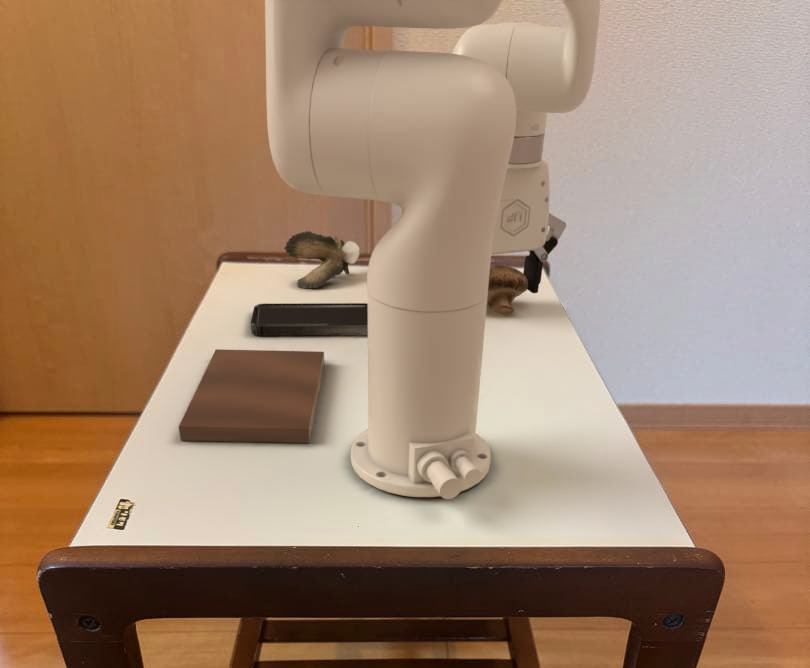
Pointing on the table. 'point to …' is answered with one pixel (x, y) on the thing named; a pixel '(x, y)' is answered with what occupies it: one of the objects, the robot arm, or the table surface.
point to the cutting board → (255, 397)
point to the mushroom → (504, 287)
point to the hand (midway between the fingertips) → (496, 293)
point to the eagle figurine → (322, 256)
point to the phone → (310, 319)
